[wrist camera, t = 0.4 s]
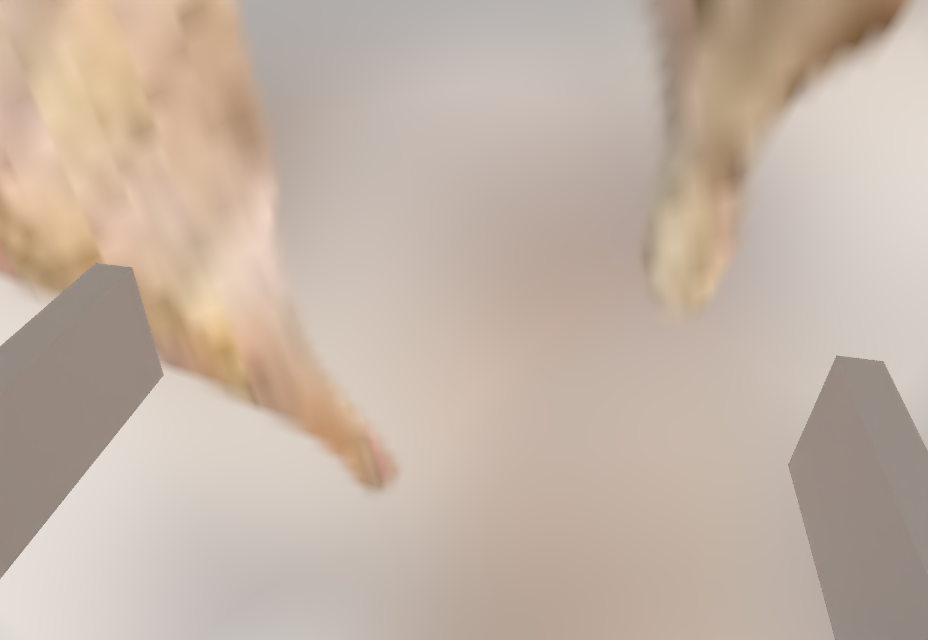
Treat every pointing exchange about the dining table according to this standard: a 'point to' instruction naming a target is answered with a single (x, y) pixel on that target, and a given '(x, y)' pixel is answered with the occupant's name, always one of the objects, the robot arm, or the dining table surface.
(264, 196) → the dining table surface
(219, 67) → the dining table surface
